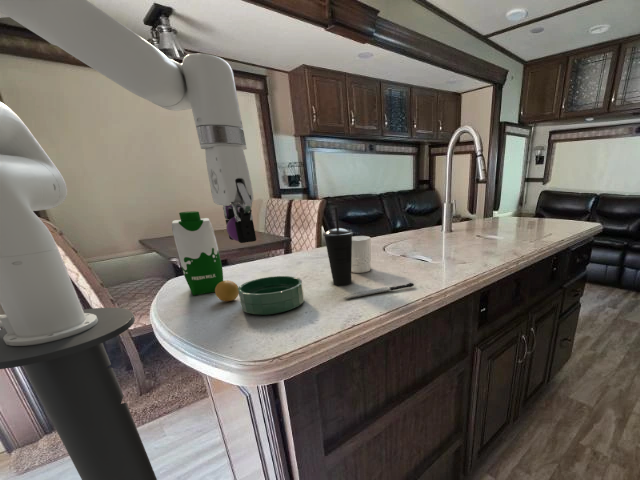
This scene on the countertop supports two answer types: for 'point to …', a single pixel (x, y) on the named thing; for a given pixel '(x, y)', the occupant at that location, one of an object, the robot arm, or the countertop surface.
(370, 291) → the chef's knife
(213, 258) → the milk carton
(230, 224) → the plum ball
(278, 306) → the bowl
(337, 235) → the drinking cup
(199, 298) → the countertop surface
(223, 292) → the ochre ball
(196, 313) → the countertop surface
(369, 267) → the white cup
